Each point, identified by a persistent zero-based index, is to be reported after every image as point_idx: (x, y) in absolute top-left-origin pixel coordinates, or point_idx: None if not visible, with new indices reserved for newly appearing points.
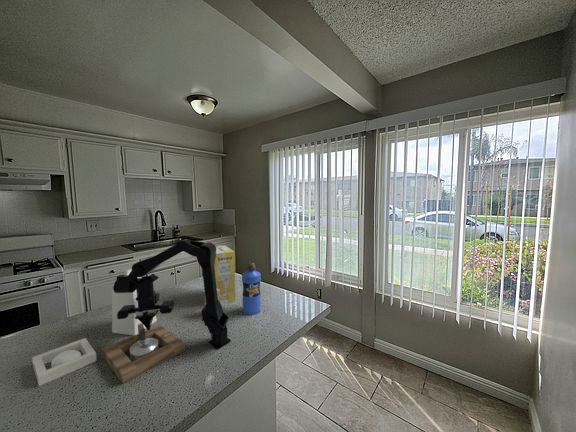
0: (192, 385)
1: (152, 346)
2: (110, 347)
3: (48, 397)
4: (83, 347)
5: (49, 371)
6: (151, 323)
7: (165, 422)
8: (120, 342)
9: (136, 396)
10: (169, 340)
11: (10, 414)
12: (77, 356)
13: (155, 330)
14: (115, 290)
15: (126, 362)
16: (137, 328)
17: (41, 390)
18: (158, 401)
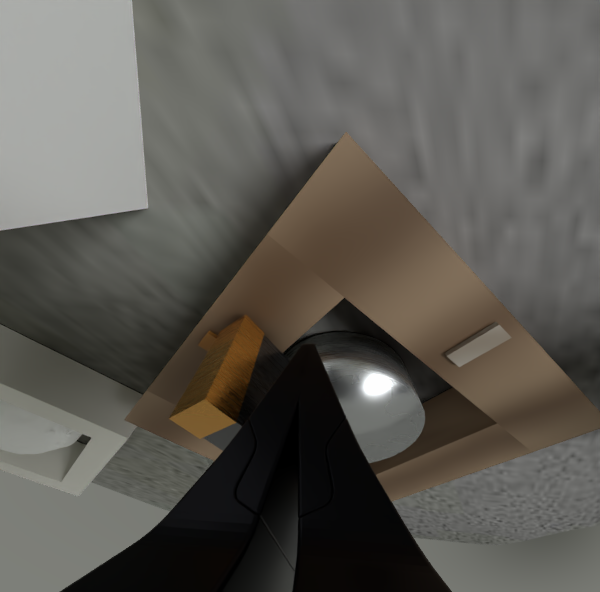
0: (559, 501)
1: (399, 437)
2: (157, 416)
3: (175, 484)
4: (11, 404)
5: (80, 486)
6: (331, 386)
7: (484, 540)
8: (170, 387)
9: (398, 504)
10: (500, 397)
11: (148, 500)
12: (68, 434)
13: (339, 264)
14: None
15: None
16: (103, 178)
17: (130, 469)
18: (461, 516)
